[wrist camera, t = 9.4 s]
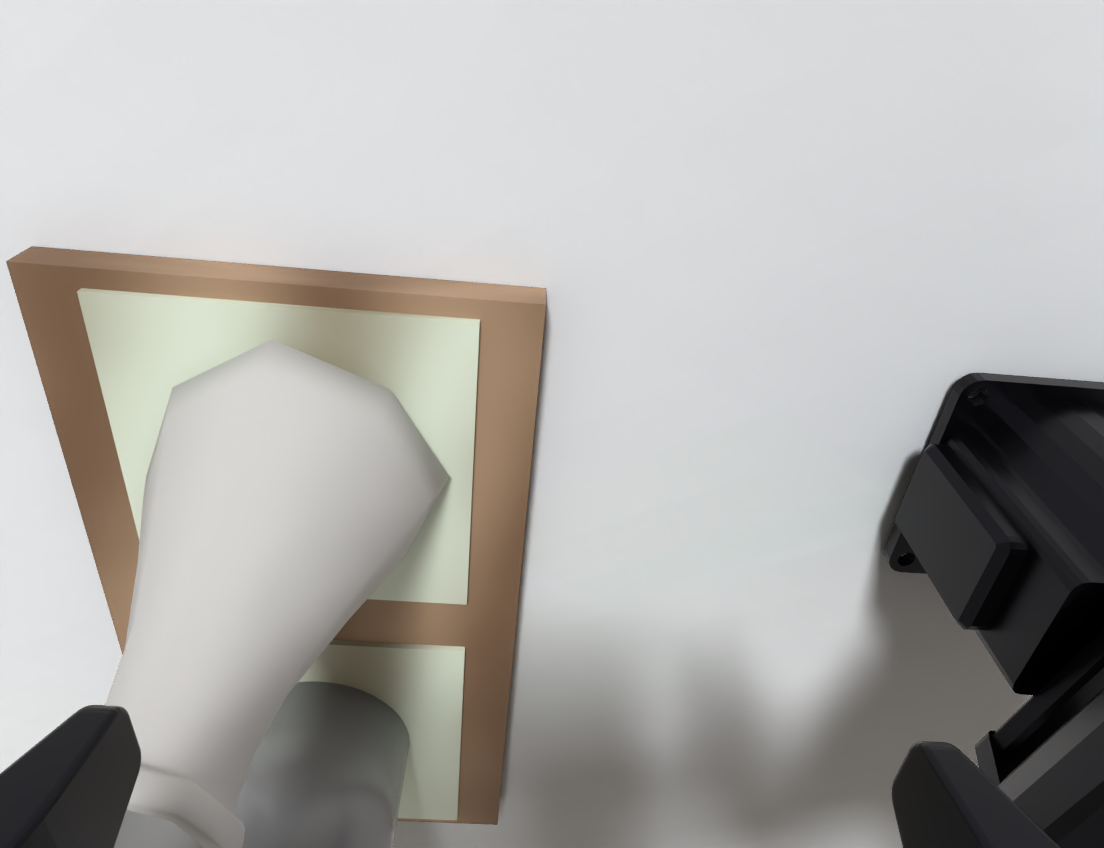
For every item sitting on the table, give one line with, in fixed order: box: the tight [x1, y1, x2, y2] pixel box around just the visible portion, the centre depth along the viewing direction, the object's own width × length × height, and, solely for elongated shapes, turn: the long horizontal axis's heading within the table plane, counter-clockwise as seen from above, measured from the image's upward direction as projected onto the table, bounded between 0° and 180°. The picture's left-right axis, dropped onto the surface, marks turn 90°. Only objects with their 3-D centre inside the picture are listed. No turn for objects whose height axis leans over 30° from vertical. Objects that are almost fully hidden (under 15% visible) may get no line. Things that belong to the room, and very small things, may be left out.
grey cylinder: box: [235, 681, 410, 848], centre depth 23 cm, size 6×6×7 cm
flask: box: [105, 339, 449, 848], centre depth 16 cm, size 7×7×10 cm
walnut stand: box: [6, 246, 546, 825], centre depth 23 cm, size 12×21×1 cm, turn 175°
